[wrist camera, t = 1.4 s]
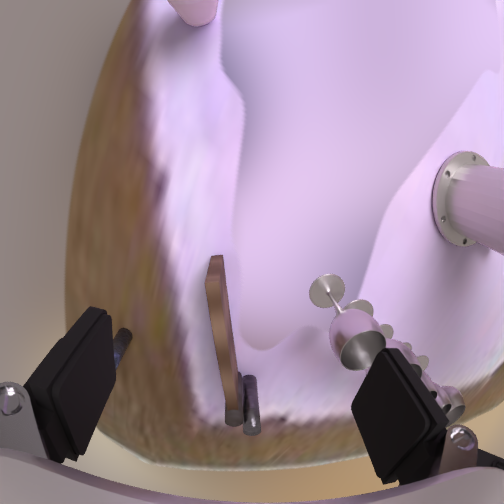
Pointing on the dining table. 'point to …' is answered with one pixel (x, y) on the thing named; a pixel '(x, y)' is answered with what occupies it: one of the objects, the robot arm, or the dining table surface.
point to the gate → (224, 340)
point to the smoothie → (195, 10)
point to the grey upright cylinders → (248, 386)
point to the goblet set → (373, 341)
